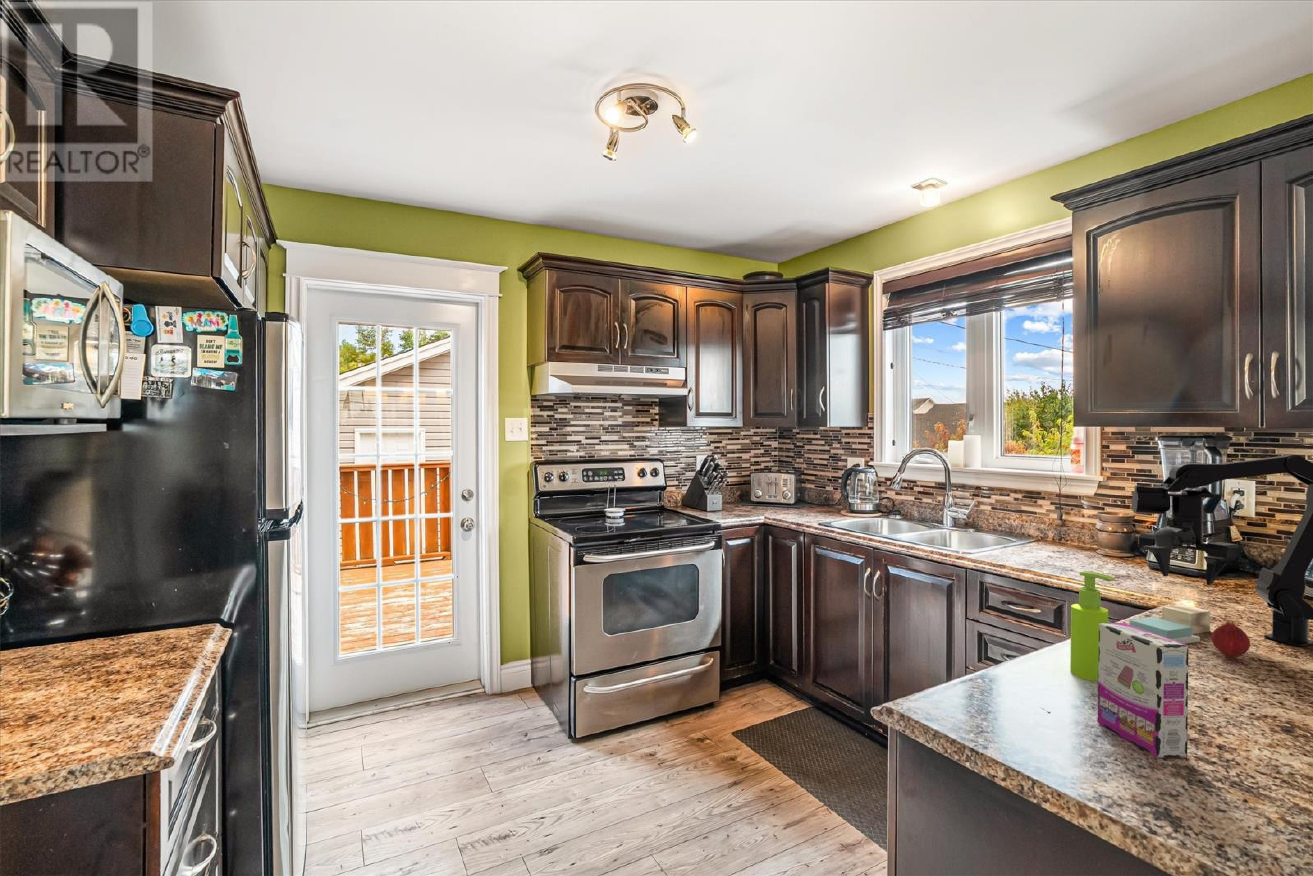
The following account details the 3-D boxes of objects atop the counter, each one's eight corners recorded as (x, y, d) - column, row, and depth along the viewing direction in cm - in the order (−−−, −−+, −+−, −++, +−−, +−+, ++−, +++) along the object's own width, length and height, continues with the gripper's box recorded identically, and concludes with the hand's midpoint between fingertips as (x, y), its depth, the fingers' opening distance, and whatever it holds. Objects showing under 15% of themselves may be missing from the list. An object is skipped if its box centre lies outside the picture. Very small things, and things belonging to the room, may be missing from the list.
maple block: (1180, 624, 150) (1181, 604, 150) (1209, 632, 144) (1210, 611, 144) (1161, 627, 148) (1162, 606, 148) (1190, 635, 142) (1190, 613, 142)
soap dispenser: (1103, 685, 113) (1104, 578, 113) (1063, 672, 119) (1065, 570, 119) (1120, 680, 115) (1121, 575, 115) (1080, 667, 122) (1081, 567, 121)
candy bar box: (1190, 758, 88) (1191, 645, 87) (1158, 760, 87) (1159, 646, 87) (1124, 722, 99) (1125, 621, 99) (1095, 723, 98) (1096, 621, 98)
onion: (1257, 665, 123) (1257, 625, 123) (1224, 662, 124) (1224, 623, 124) (1236, 654, 129) (1236, 617, 129) (1204, 652, 130) (1205, 615, 130)
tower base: (1151, 627, 147) (1151, 615, 147) (1199, 641, 137) (1199, 628, 137) (1122, 631, 144) (1122, 619, 144) (1169, 646, 134) (1169, 632, 134)
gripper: (1122, 512, 152) (1122, 574, 152) (1210, 522, 134) (1210, 593, 134) (1153, 510, 155) (1153, 571, 156) (1243, 520, 138) (1242, 589, 138)
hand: (1186, 580), depth 146 cm, fingers open, 9 cm apart
